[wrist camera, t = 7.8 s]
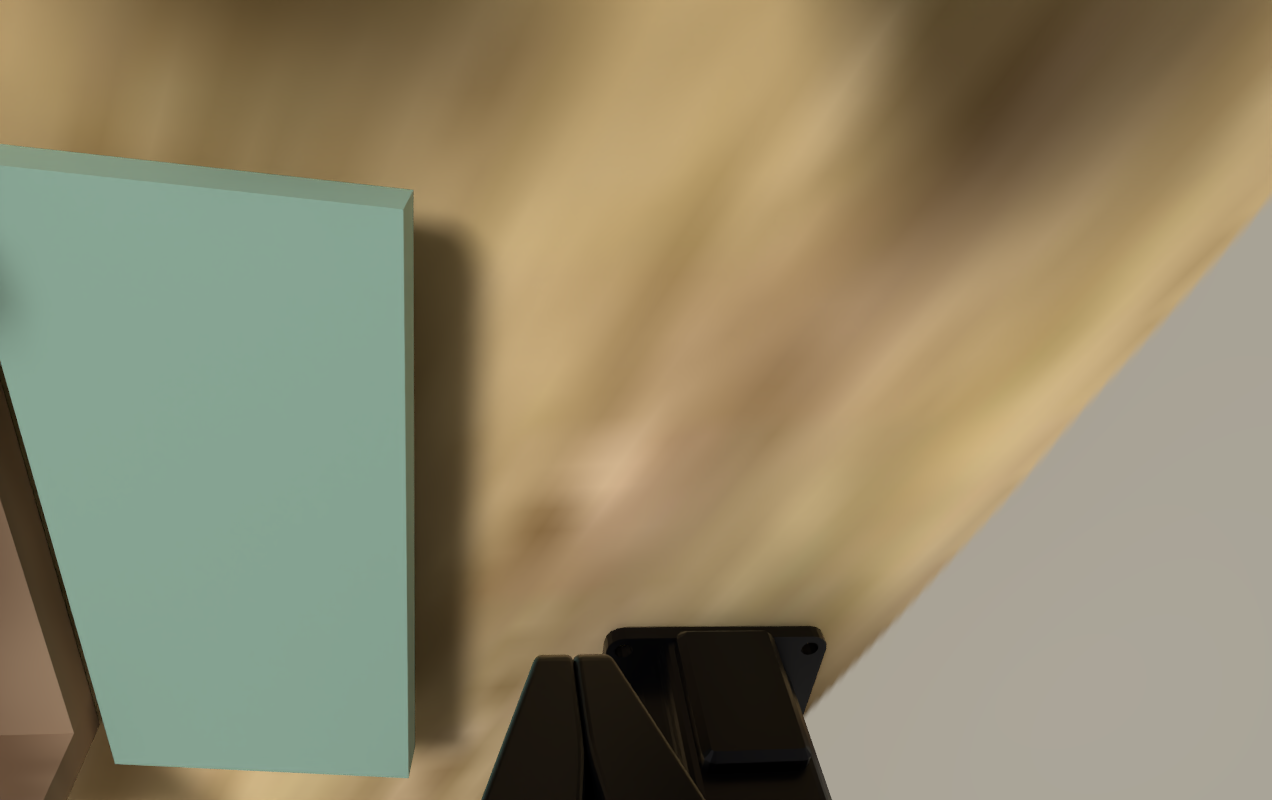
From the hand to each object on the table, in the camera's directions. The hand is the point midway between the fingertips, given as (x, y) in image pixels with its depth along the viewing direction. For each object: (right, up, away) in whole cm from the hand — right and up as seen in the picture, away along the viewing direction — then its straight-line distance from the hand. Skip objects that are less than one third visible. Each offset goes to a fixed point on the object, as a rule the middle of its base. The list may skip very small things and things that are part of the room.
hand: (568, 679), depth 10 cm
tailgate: (-12, +1, +9) cm, 15 cm away
